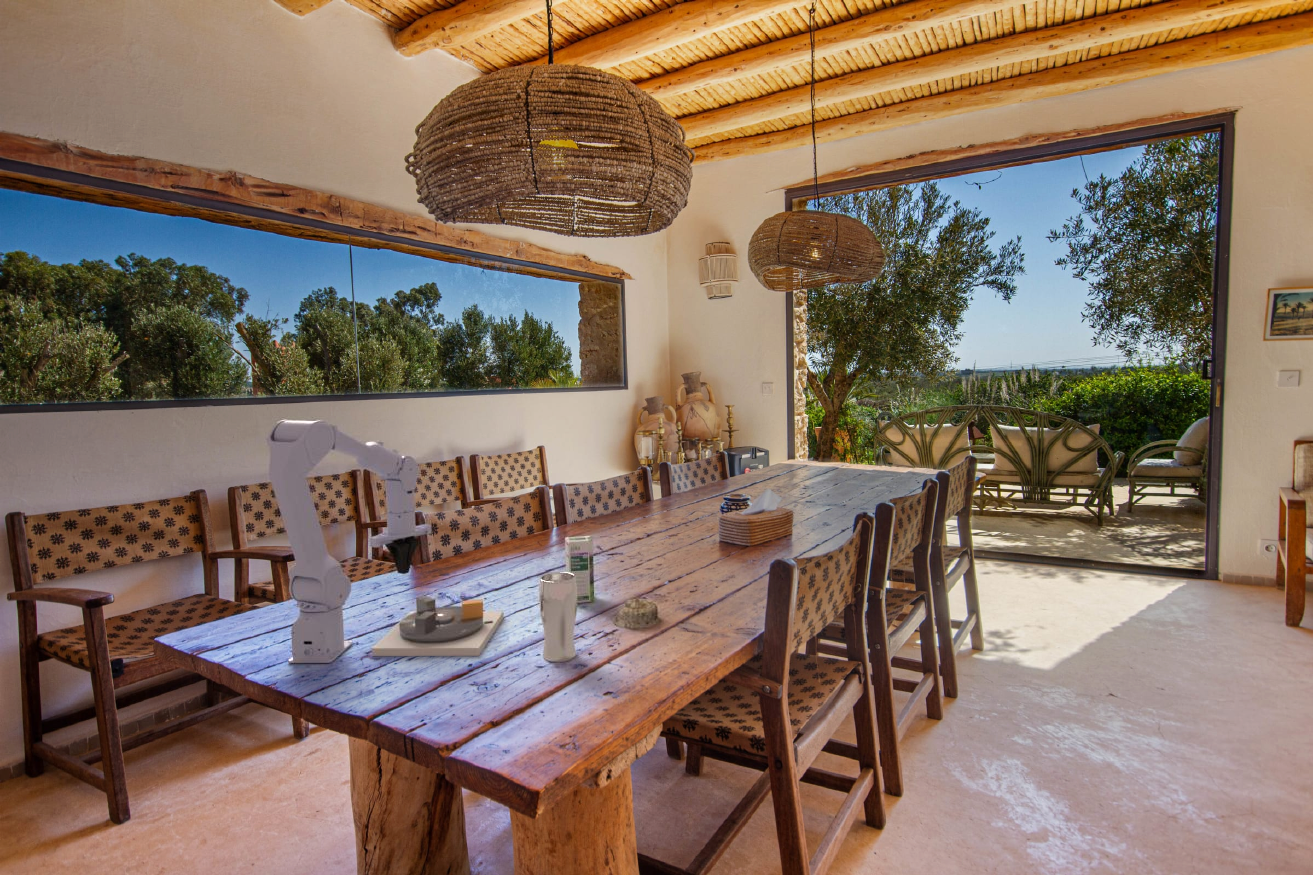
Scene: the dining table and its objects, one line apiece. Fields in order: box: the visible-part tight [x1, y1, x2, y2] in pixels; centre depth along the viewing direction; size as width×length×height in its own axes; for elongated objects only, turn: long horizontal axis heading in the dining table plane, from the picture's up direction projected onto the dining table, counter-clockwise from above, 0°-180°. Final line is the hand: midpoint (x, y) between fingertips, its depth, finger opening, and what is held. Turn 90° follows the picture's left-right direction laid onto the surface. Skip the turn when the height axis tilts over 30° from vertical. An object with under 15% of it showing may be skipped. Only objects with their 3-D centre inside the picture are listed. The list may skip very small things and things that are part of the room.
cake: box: [612, 597, 660, 629], centre depth 146 cm, size 10×10×5 cm
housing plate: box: [371, 610, 504, 657], centre depth 139 cm, size 20×20×2 cm
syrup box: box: [564, 535, 595, 604], centre depth 160 cm, size 6×6×14 cm
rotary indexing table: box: [399, 595, 484, 643], centre depth 138 cm, size 16×16×5 cm
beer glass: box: [538, 571, 578, 663], centre depth 128 cm, size 7×7×15 cm
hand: (403, 572), depth 150 cm, fingers closed
